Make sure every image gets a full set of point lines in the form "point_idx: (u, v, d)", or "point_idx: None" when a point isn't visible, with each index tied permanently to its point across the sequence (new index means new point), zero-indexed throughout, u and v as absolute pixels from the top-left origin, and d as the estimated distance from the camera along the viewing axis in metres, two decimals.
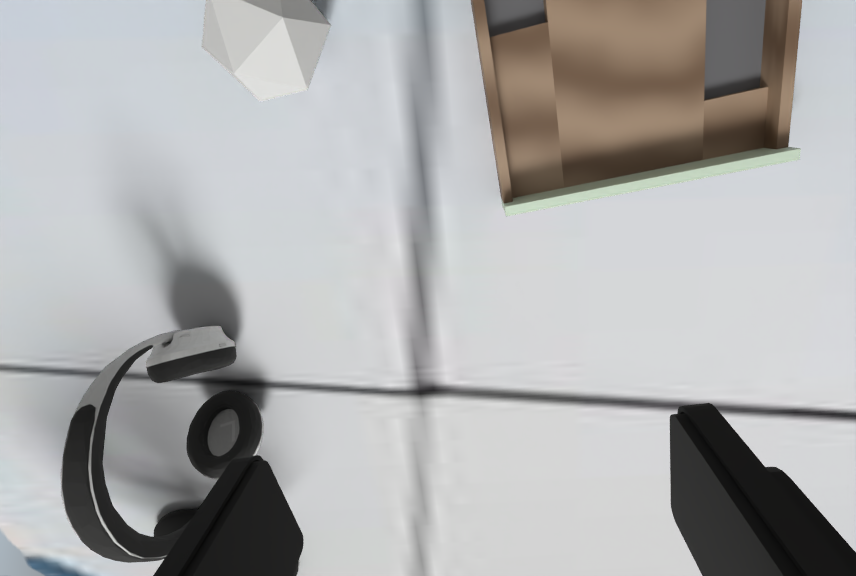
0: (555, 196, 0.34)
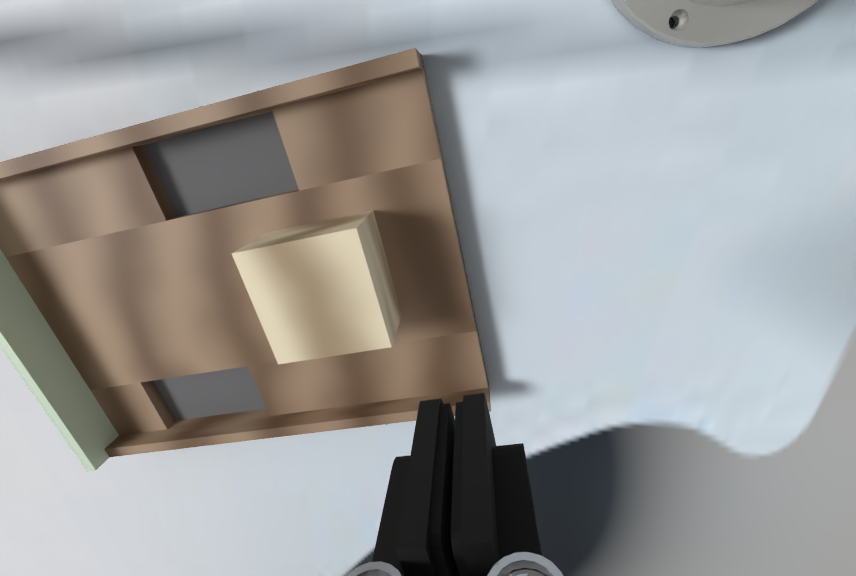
0: None
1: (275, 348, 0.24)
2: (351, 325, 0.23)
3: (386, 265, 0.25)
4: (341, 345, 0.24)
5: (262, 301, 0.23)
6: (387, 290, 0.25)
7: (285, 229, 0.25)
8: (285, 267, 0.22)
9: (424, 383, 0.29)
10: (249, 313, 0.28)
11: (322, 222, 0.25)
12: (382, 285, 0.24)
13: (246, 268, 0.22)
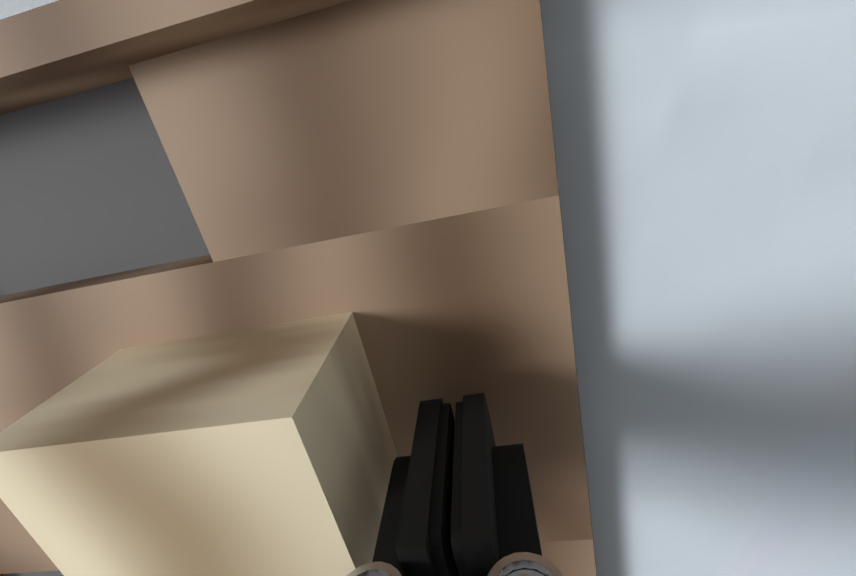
0: None
1: None
2: None
3: (382, 426, 0.12)
4: None
5: (70, 554, 0.09)
6: (384, 493, 0.11)
7: (159, 346, 0.11)
8: (109, 494, 0.08)
9: None
10: None
11: (236, 338, 0.11)
12: (372, 497, 0.10)
13: (13, 488, 0.09)
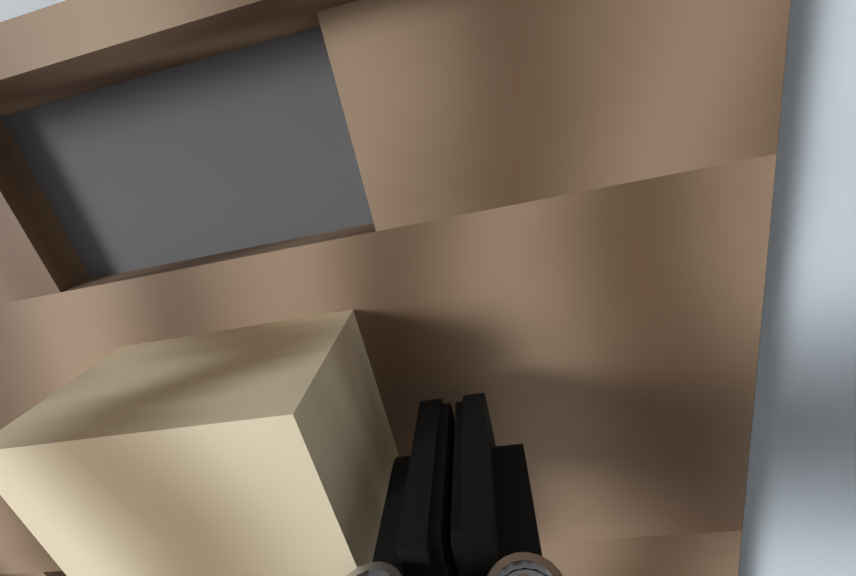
0: None
1: None
2: None
3: (382, 423, 0.12)
4: None
5: (71, 551, 0.09)
6: (385, 490, 0.11)
7: (159, 344, 0.11)
8: (110, 491, 0.08)
9: None
10: None
11: (237, 335, 0.11)
12: (372, 495, 0.10)
13: (13, 486, 0.08)
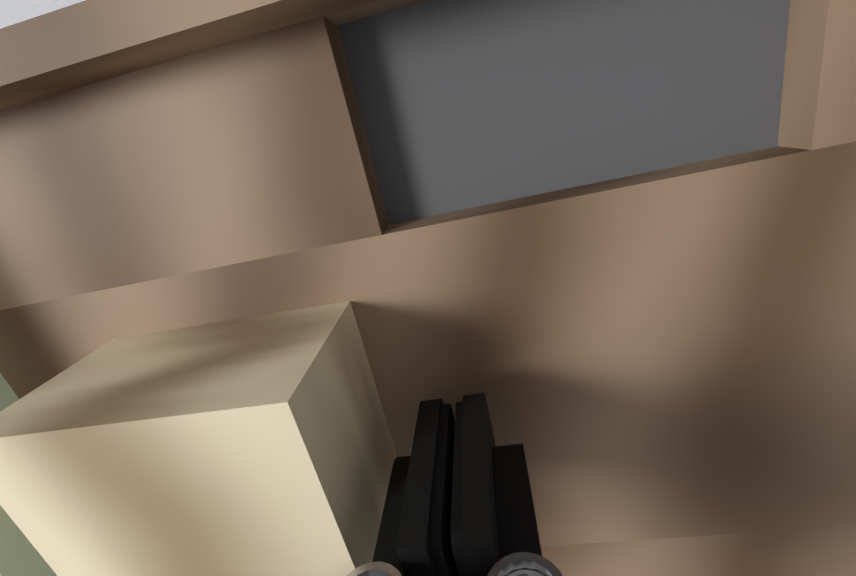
0: None
1: None
2: None
3: (379, 418, 0.11)
4: None
5: (58, 546, 0.09)
6: (381, 485, 0.11)
7: (152, 336, 0.11)
8: (99, 483, 0.08)
9: None
10: (538, 451, 0.12)
11: (231, 327, 0.11)
12: (368, 489, 0.10)
13: None
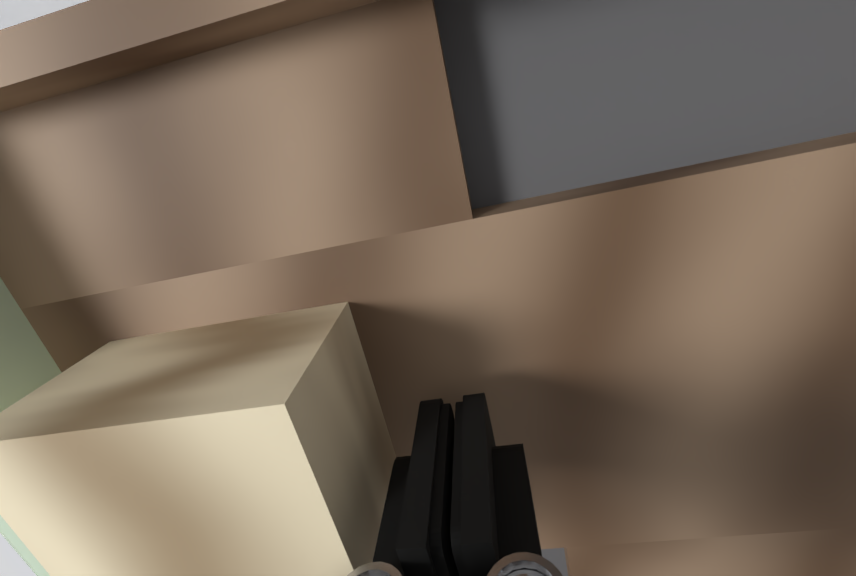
0: None
1: None
2: None
3: (378, 419, 0.11)
4: None
5: (55, 551, 0.09)
6: (380, 487, 0.11)
7: (149, 338, 0.11)
8: (95, 486, 0.08)
9: None
10: (618, 445, 0.12)
11: (229, 329, 0.11)
12: (367, 491, 0.10)
13: None
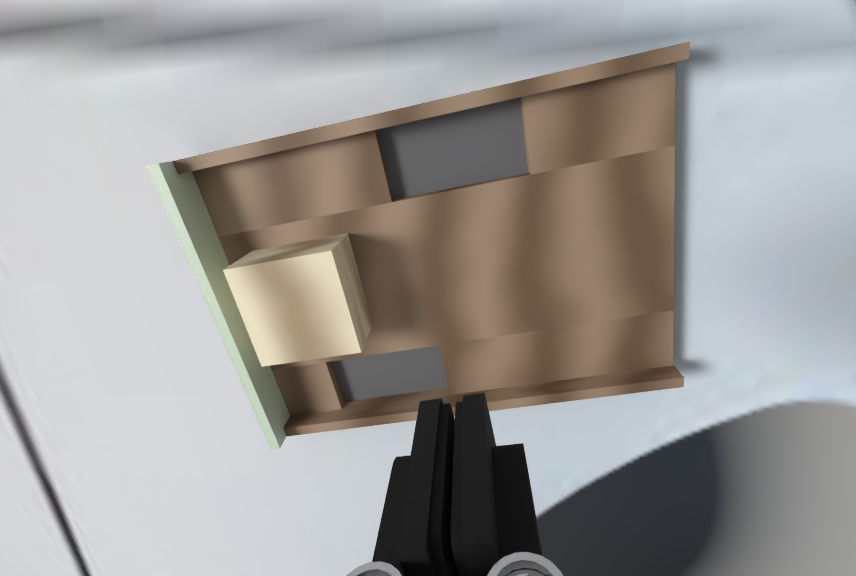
0: (188, 229, 0.26)
1: (259, 352, 0.28)
2: (326, 333, 0.27)
3: (359, 281, 0.29)
4: (317, 350, 0.27)
5: (248, 311, 0.26)
6: (359, 303, 0.28)
7: (270, 248, 0.29)
8: (269, 283, 0.26)
9: (612, 361, 0.31)
10: (453, 293, 0.29)
11: (303, 243, 0.28)
12: (354, 298, 0.27)
13: (235, 283, 0.26)
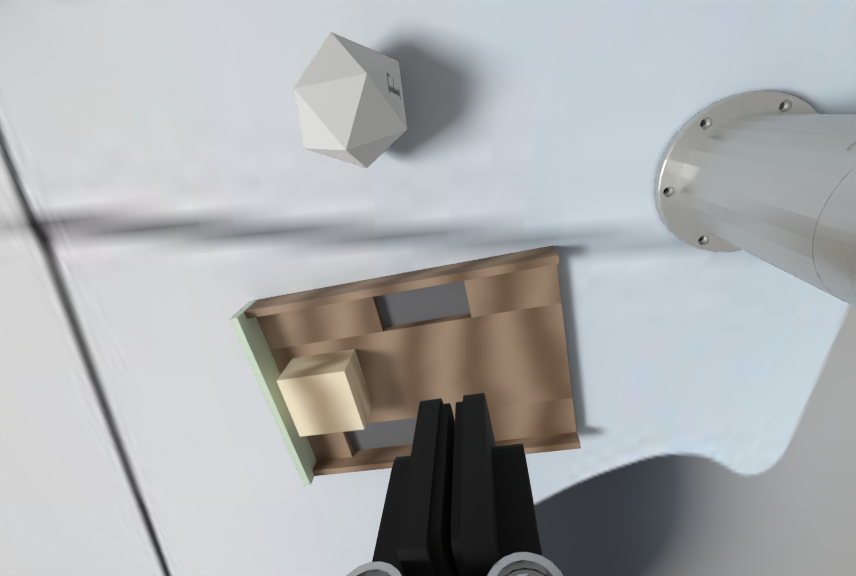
0: (253, 353, 0.41)
1: (298, 428, 0.43)
2: (341, 417, 0.42)
3: (362, 378, 0.44)
4: (336, 427, 0.42)
5: (292, 404, 0.41)
6: (363, 394, 0.43)
7: (304, 357, 0.44)
8: (305, 388, 0.41)
9: (535, 429, 0.45)
10: (425, 385, 0.44)
11: (325, 355, 0.43)
12: (359, 393, 0.42)
13: (284, 388, 0.41)
